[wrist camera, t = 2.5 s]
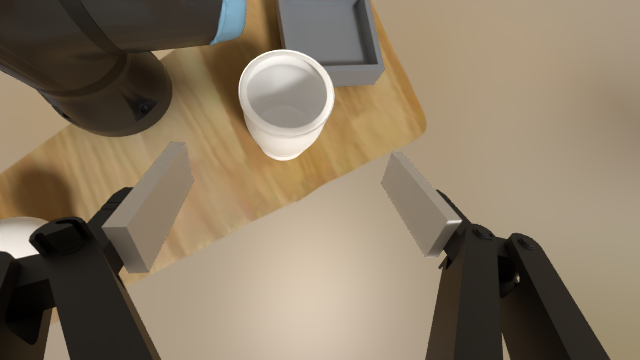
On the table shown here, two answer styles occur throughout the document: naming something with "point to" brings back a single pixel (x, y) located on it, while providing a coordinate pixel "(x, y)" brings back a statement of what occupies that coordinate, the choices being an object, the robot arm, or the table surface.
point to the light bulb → (18, 235)
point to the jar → (285, 101)
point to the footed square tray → (333, 37)
